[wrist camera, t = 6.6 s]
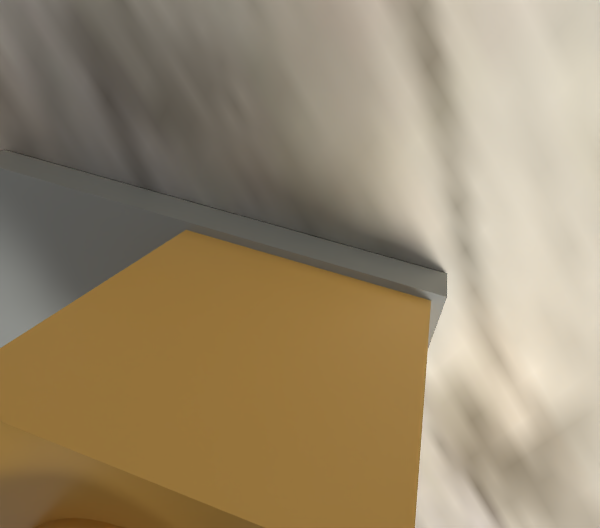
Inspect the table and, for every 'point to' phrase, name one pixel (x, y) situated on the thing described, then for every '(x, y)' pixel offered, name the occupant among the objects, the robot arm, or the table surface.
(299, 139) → the table surface
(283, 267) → the domed push button
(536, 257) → the table surface
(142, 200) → the plate
